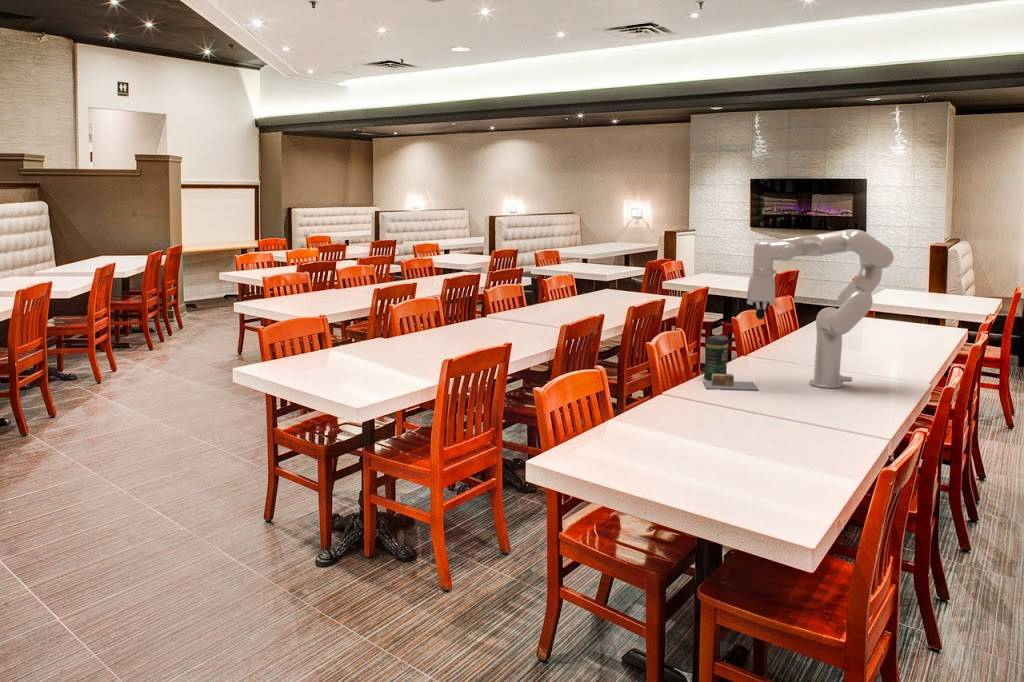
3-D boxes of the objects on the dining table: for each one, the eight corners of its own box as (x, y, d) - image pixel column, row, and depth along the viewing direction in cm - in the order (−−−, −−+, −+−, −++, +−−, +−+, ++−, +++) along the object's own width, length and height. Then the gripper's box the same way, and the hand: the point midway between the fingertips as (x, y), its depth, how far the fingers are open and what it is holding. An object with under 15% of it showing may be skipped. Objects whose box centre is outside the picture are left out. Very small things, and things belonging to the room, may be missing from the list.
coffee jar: (718, 382, 311) (720, 338, 308) (701, 379, 316) (703, 335, 313) (729, 378, 318) (731, 335, 315) (712, 375, 323) (714, 332, 320)
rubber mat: (752, 383, 309) (752, 381, 309) (758, 390, 296) (758, 389, 296) (702, 381, 312) (702, 380, 311) (706, 389, 299) (706, 387, 299)
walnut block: (732, 374, 305) (711, 373, 306) (733, 376, 301) (712, 375, 302) (732, 383, 306) (711, 383, 307) (733, 386, 302) (712, 385, 303)
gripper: (780, 272, 301) (777, 318, 304) (741, 272, 303) (739, 317, 306) (784, 274, 294) (781, 320, 297) (744, 273, 296) (742, 320, 299)
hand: (760, 318), depth 302 cm, fingers closed
